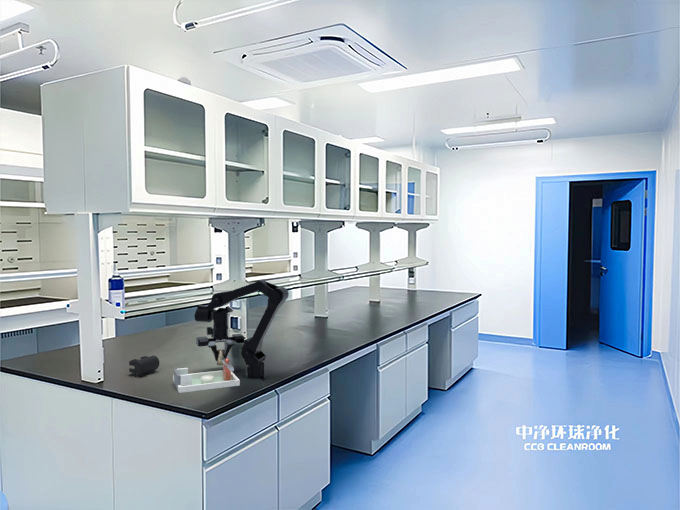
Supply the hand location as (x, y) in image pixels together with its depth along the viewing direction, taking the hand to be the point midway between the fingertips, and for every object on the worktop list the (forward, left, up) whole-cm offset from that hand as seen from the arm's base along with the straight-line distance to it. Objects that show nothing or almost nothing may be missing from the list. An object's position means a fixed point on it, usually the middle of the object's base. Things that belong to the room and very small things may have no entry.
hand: (220, 360), depth 200 cm
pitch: (+8, +11, -6) cm, 15 cm away
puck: (+8, +11, -5) cm, 15 cm away
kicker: (0, +9, -5) cm, 10 cm away
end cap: (+28, -15, -6) cm, 32 cm away
